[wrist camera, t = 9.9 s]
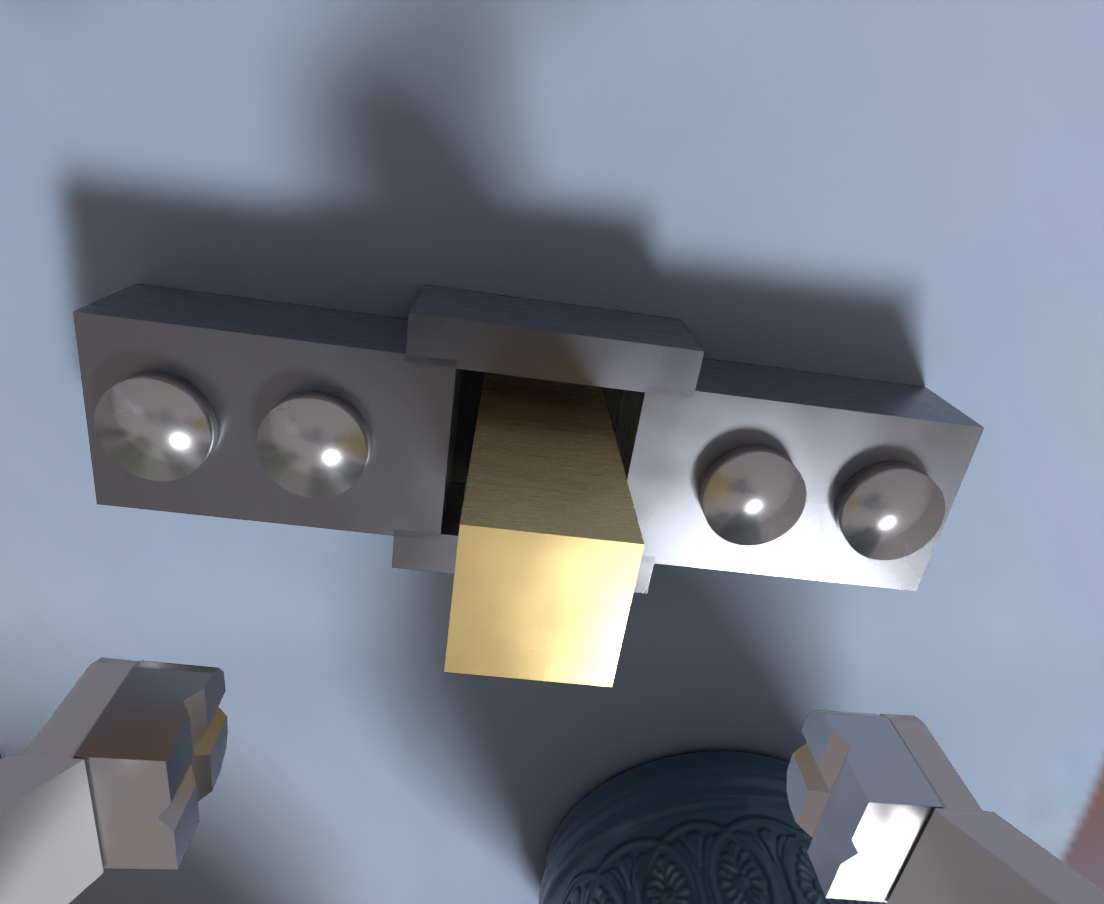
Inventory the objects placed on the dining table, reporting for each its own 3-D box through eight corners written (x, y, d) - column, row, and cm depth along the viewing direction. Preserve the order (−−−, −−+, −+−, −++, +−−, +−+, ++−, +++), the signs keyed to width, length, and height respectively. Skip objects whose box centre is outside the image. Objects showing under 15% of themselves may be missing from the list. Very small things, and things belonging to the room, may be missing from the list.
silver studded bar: (133, 245, 19) (52, 273, 16) (938, 354, 21) (1013, 398, 18) (153, 485, 22) (88, 550, 19) (861, 562, 24) (914, 633, 21)
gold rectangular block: (486, 362, 21) (459, 524, 13) (598, 376, 21) (644, 544, 13) (475, 464, 22) (444, 672, 14) (581, 476, 22) (611, 687, 14)
